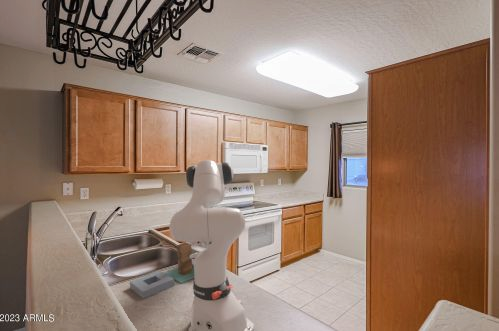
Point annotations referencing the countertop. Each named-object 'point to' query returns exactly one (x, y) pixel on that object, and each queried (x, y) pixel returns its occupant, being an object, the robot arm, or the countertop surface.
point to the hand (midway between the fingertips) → (183, 254)
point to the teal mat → (179, 277)
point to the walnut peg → (184, 259)
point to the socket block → (151, 284)
